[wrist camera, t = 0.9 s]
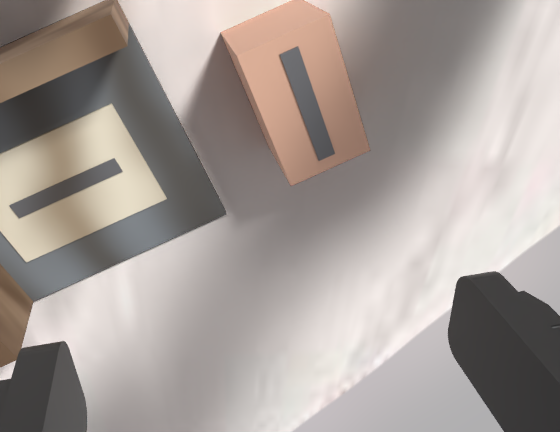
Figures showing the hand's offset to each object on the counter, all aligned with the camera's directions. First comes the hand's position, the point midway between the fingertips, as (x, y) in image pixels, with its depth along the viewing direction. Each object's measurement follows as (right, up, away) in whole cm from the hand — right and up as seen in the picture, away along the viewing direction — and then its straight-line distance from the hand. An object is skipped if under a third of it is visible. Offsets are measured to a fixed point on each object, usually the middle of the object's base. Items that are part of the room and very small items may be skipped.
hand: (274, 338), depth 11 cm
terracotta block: (0, +11, +22) cm, 25 cm away
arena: (-14, +5, +22) cm, 26 cm away
